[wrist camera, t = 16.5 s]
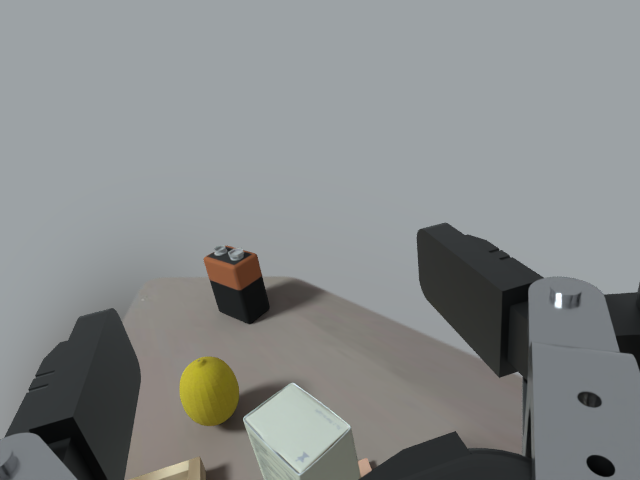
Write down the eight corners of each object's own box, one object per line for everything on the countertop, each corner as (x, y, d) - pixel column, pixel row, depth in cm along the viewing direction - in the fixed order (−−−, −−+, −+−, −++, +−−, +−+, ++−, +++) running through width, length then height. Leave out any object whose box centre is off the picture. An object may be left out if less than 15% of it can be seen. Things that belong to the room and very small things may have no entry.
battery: (249, 326, 59) (231, 262, 54) (218, 312, 63) (199, 252, 58) (271, 309, 61) (256, 246, 57) (240, 297, 66) (224, 238, 61)
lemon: (214, 395, 48) (194, 337, 44) (256, 405, 46) (239, 346, 42) (181, 435, 43) (156, 375, 40) (226, 449, 41) (204, 387, 38)
